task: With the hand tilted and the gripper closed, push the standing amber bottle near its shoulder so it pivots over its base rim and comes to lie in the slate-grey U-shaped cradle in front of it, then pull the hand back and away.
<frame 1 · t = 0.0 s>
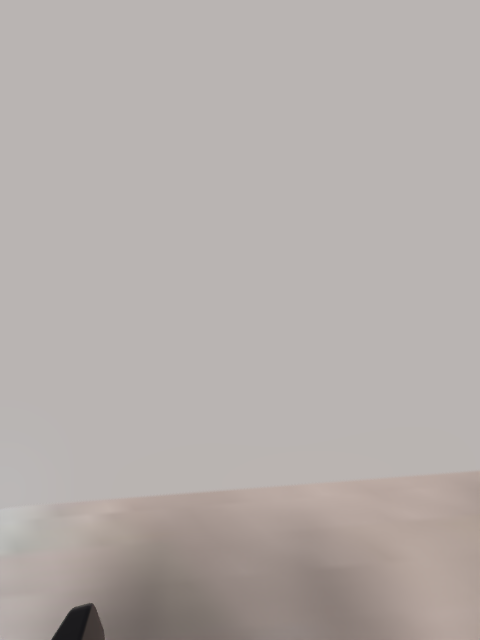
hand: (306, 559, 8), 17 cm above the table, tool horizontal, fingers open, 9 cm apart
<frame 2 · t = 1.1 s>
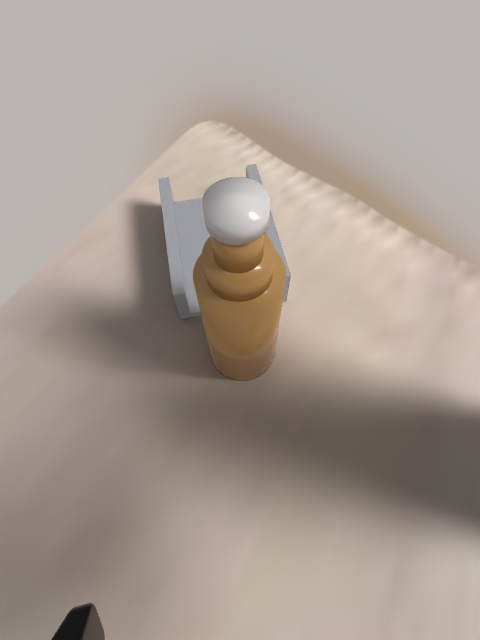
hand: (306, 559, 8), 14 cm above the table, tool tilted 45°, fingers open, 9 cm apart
amber bottle: (242, 349, 25), on the table
grey cradle: (221, 251, 30), on the table
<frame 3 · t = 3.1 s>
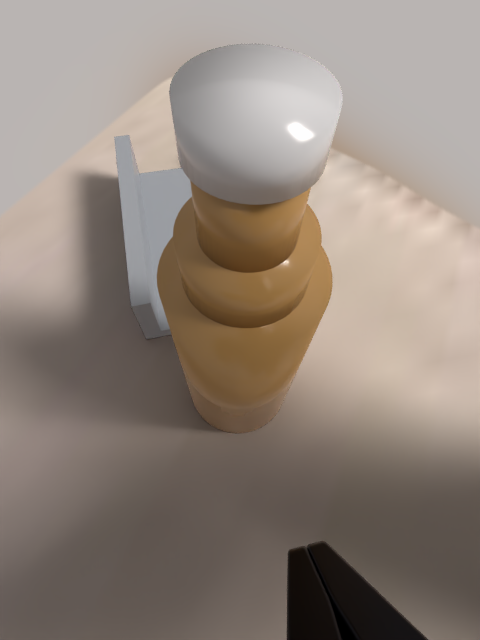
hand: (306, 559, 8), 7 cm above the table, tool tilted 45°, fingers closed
amber bottle: (237, 384, 17), on the table
grey cradle: (205, 240, 21), on the table
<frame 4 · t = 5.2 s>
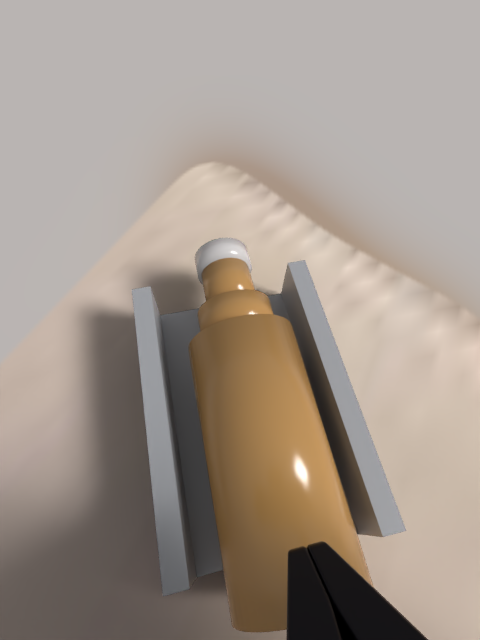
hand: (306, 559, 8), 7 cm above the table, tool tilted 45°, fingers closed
amber bottle: (302, 604, 11), point 3 cm above the table, tilted 90°, touching grey cradle
grey cradle: (245, 413, 17), on the table
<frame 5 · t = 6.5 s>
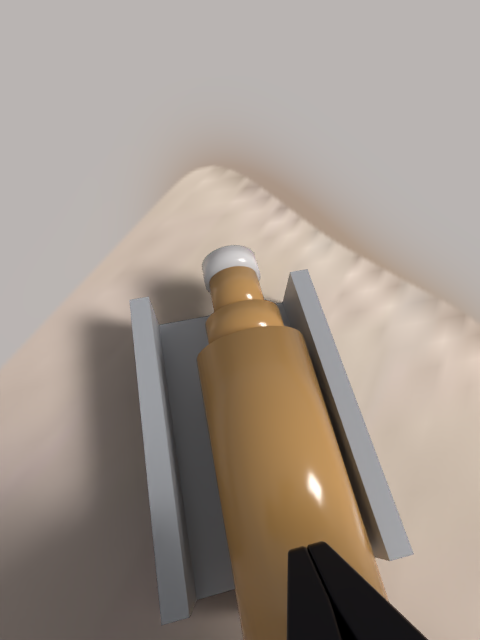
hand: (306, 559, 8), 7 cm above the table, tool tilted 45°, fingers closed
amber bottle: (318, 629, 11), point 3 cm above the table, tilted 90°, touching grey cradle
grey cradle: (246, 427, 16), on the table
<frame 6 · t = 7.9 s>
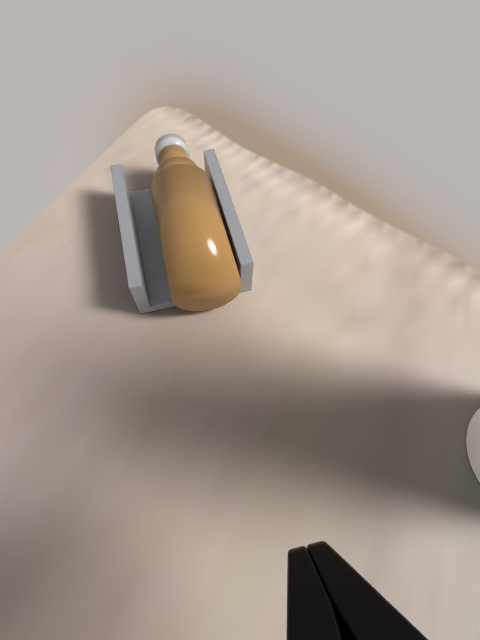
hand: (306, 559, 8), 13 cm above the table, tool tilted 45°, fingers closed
amber bottle: (207, 292, 23), point 3 cm above the table, tilted 90°, touching grey cradle
grey cradle: (182, 241, 28), on the table
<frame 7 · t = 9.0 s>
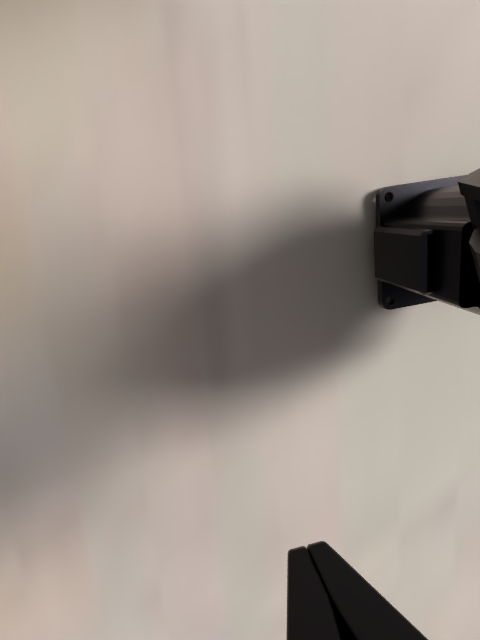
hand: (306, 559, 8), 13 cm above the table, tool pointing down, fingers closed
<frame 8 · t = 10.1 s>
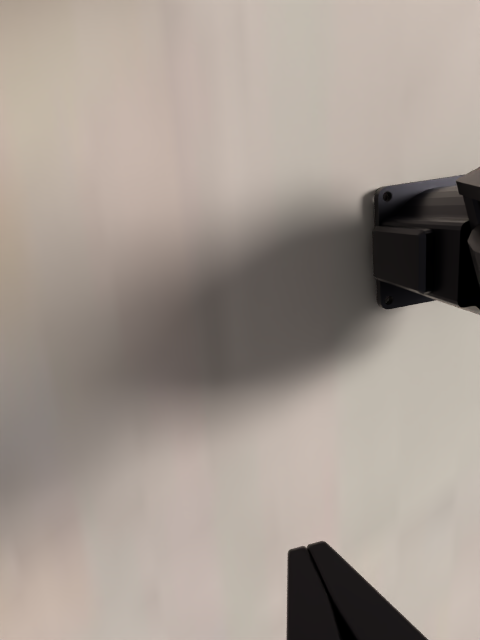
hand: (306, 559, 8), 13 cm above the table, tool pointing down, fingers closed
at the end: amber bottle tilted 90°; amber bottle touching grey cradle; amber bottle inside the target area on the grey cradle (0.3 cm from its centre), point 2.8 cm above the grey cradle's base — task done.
